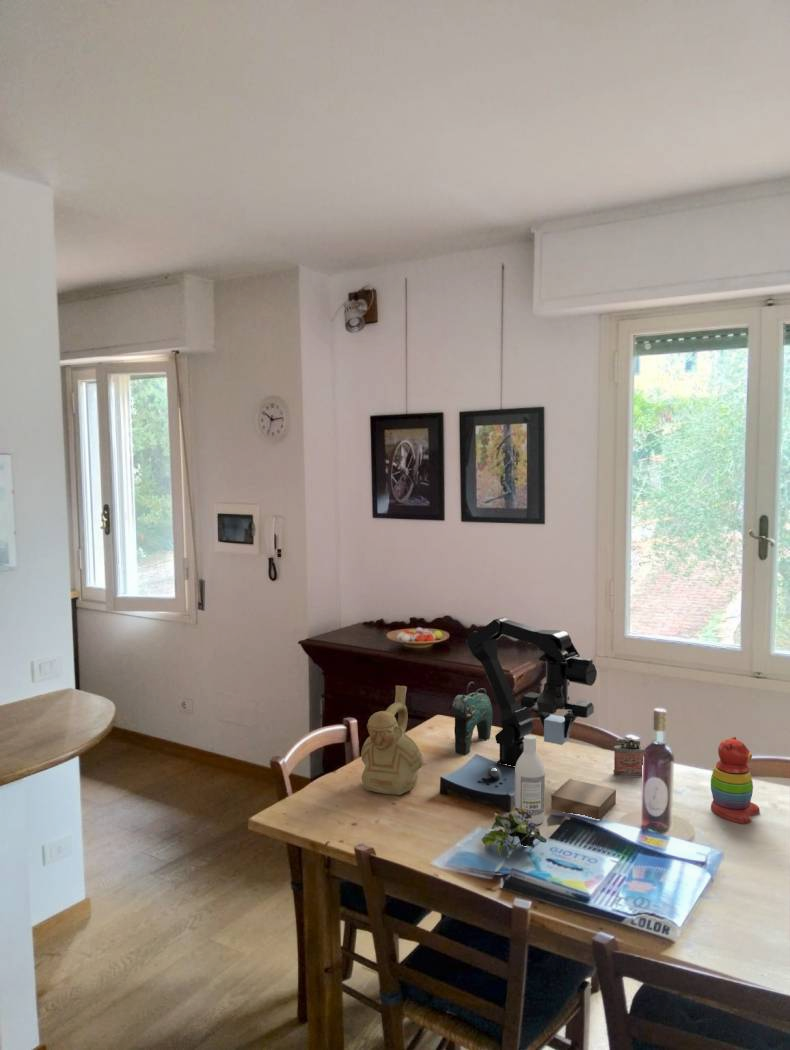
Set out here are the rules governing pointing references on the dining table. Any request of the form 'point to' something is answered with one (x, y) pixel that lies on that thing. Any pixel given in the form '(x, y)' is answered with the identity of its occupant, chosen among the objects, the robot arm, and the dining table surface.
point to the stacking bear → (733, 783)
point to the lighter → (628, 758)
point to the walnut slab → (583, 799)
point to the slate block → (554, 730)
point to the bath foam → (530, 782)
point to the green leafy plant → (513, 831)
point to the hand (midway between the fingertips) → (556, 735)
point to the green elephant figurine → (471, 719)
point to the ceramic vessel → (390, 751)
